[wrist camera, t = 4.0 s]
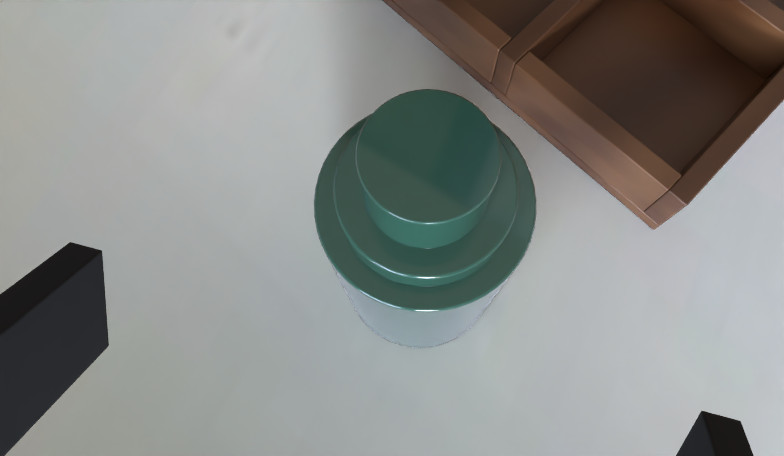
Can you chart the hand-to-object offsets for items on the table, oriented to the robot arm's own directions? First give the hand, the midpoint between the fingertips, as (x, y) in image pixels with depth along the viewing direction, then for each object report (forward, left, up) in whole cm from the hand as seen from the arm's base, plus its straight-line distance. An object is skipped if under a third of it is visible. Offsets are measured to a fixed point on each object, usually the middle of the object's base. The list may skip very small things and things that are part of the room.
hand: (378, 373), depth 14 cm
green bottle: (-2, +4, -10) cm, 11 cm away
